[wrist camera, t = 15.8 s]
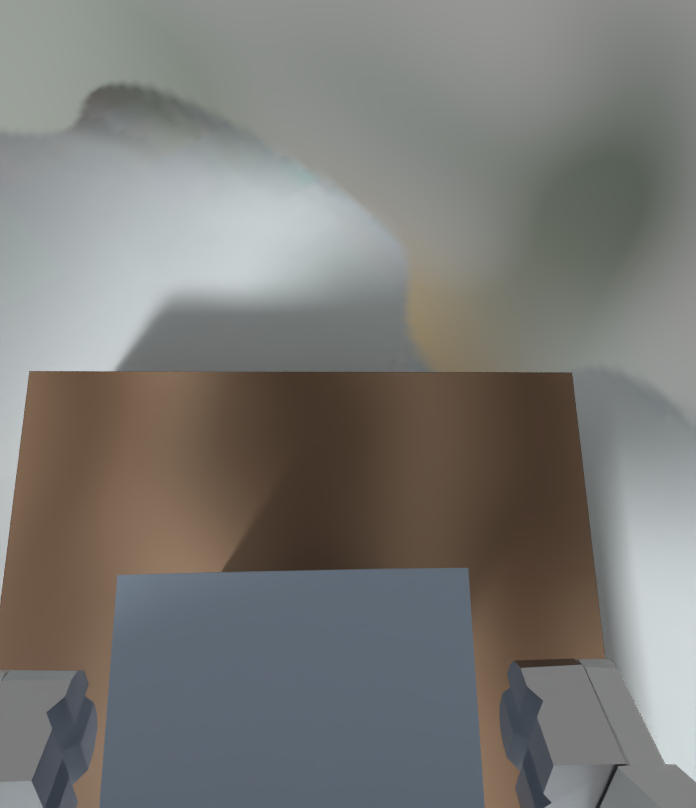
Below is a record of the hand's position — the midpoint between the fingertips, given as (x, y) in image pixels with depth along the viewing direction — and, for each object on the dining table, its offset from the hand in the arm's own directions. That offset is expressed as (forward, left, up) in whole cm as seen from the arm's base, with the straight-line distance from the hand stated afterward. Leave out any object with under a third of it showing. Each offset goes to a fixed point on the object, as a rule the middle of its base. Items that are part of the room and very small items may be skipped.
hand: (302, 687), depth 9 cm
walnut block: (0, -1, -12) cm, 12 cm away
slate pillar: (0, -1, -7) cm, 7 cm away
